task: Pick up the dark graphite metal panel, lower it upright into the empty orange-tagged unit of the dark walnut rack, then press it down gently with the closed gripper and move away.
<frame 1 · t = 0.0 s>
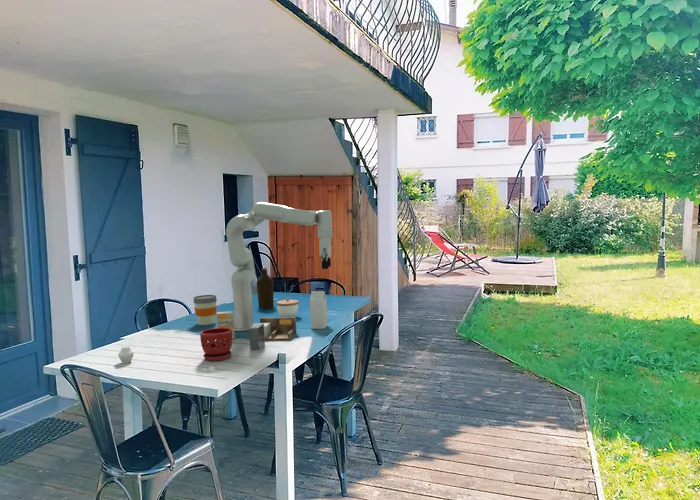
hand: (326, 267, 264), 31 cm above the table, tool pointing down, fingers open, 9 cm apart
reusable coffee cup: (206, 323, 287), on the table
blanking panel: (257, 347, 234), on the table
white faceted vase: (126, 362, 218), on the table
supplement box: (226, 338, 251), on the table
lidded bowl: (288, 317, 295), on the table
plant pot: (217, 358, 219), on the table
olive oil: (266, 307, 328), on the table
milk carton: (319, 327, 267), on the table
rack: (275, 336, 251), on the table
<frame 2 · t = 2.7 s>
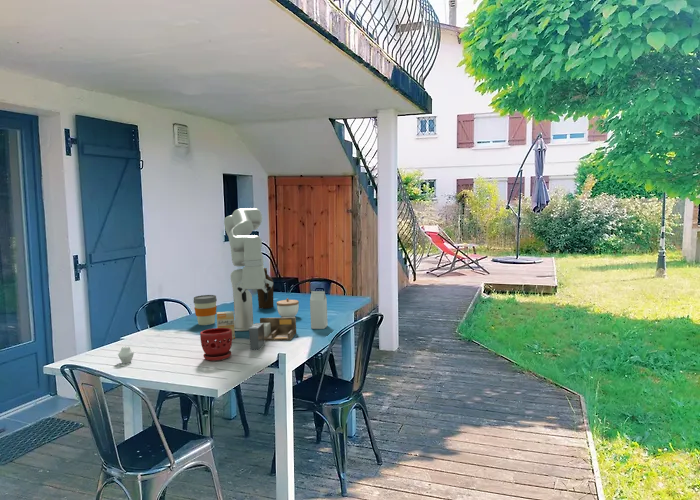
hand: (255, 301, 232), 21 cm above the table, tool pointing down, fingers open, 9 cm apart
nothing on the table moved.
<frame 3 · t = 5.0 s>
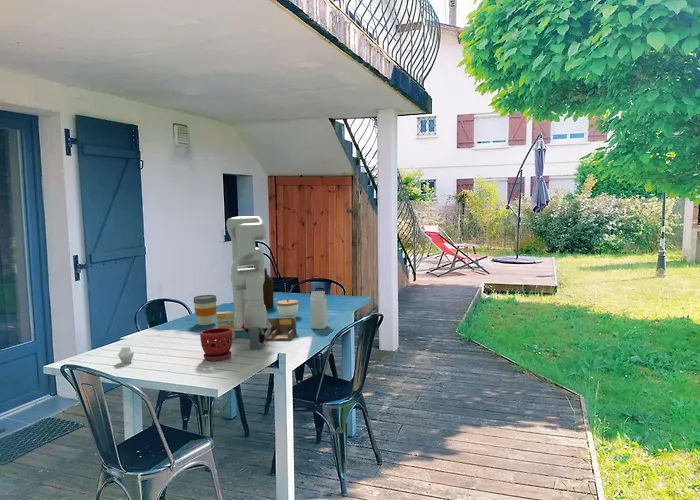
hand: (257, 342, 233), 2 cm above the table, tool pointing down, fingers closed on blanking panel, 4 cm apart
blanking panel: (257, 347, 234), on the table, touching gripper
everything else where it was.
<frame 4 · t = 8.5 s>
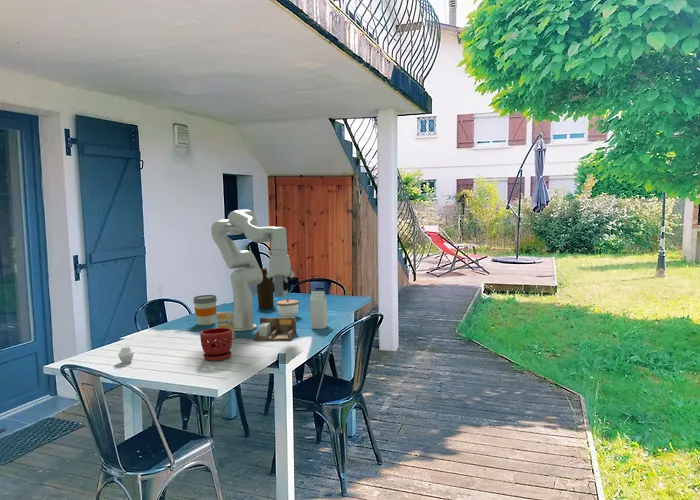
hand: (281, 289, 249), 23 cm above the table, tool pointing down, fingers closed on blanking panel, 4 cm apart
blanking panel: (281, 294, 249), point 21 cm above the table, touching gripper
everything else where it was.
when the fingers open (4 cm above the table, at t = 12.3 s): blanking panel stays where it is, resting on rack.
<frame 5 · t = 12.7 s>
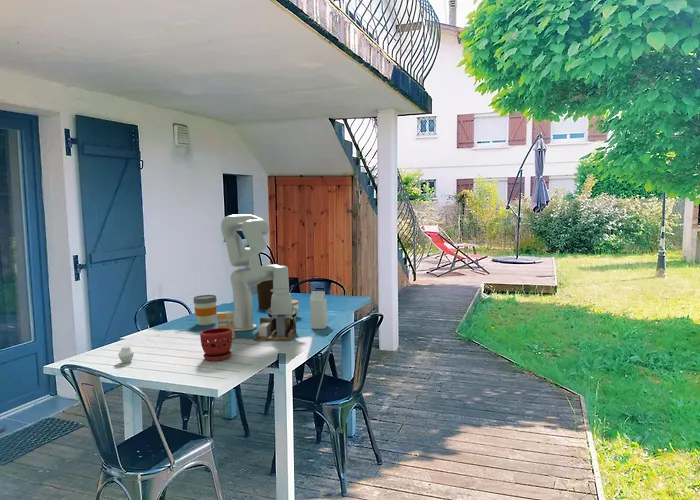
hand: (283, 326, 250), 5 cm above the table, tool pointing down, fingers open, 7 cm apart
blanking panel: (283, 334, 251), point 1 cm above the table, touching rack
everything else where it was.
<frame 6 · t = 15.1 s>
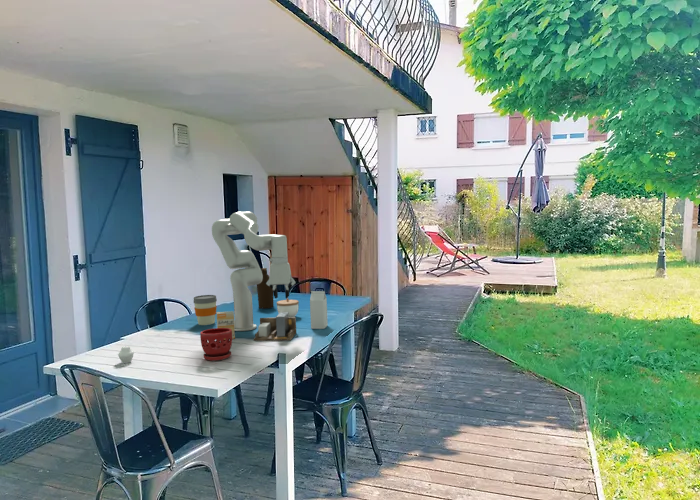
hand: (281, 297, 249), 19 cm above the table, tool pointing down, fingers open, 4 cm apart
nothing on the table moved.
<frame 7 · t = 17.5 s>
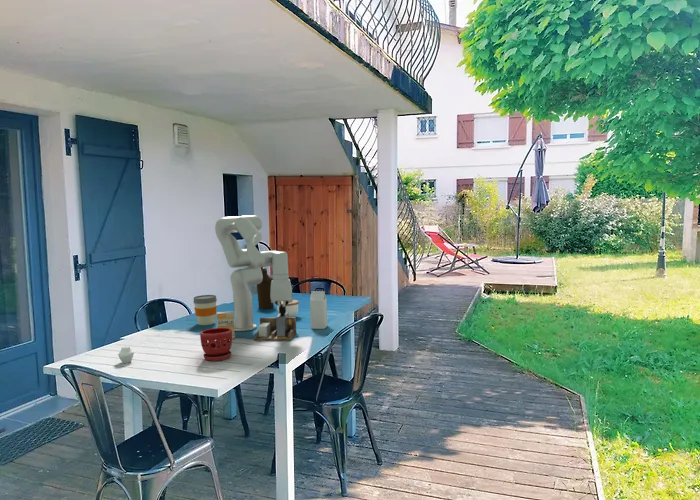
hand: (282, 314, 250), 11 cm above the table, tool pointing down, fingers closed
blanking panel: (283, 334, 251), point 1 cm above the table, touching gripper, rack
everything else where it was.
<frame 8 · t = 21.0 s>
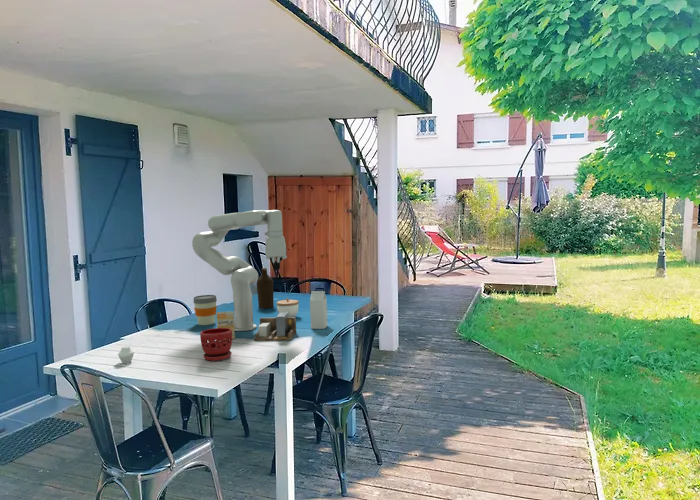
hand: (277, 270, 262), 31 cm above the table, tool pointing down, fingers closed
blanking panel: (283, 334, 251), point 1 cm above the table, touching rack
everything else where it was.
at the end: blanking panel 0.1 cm from the target spot on the rack, point 1.0 cm above the rack's base; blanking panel tilted 0°; the gripper is holding nothing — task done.
